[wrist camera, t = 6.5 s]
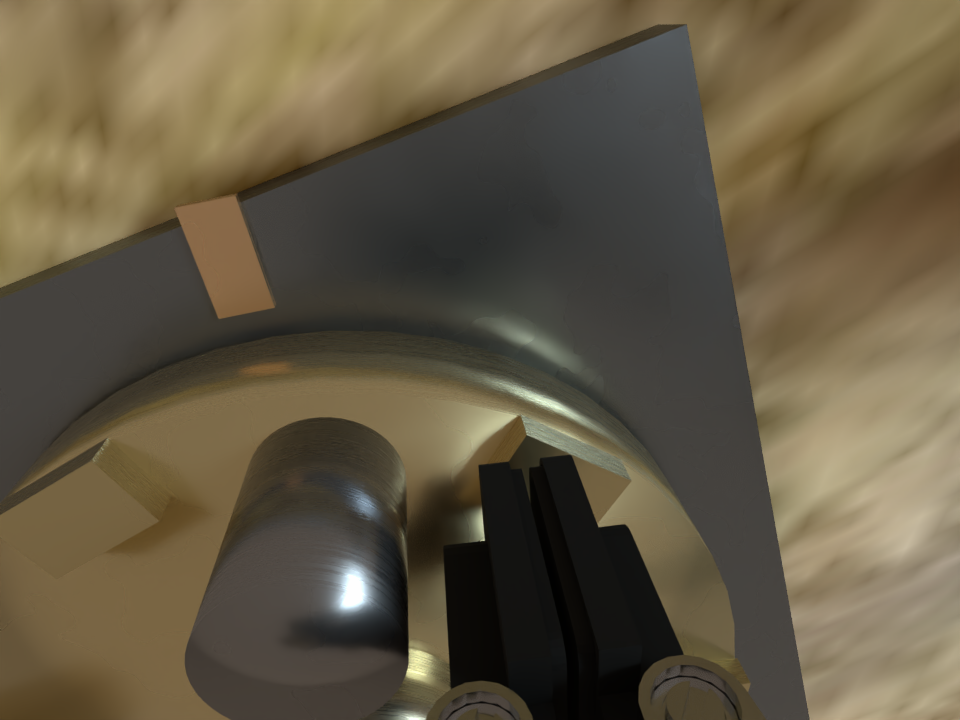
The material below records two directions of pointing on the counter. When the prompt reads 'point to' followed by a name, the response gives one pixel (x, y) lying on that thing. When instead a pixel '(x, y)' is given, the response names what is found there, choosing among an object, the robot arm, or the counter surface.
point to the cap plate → (466, 290)
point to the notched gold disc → (300, 531)
